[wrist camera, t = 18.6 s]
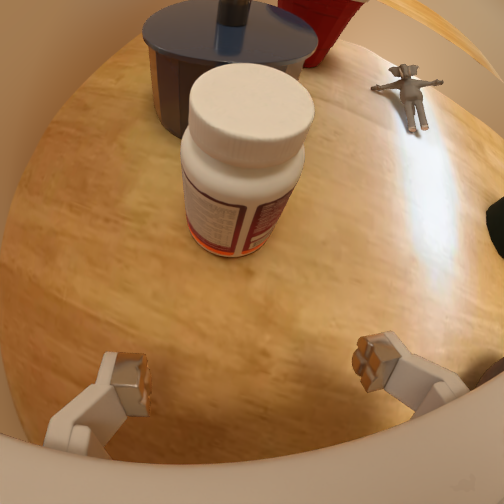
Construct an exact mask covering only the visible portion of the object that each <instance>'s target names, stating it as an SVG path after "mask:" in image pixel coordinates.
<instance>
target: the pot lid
mask: <svg viewBox="0 0 504 504" xmlns="http://www.w3.org/2000/svg"><path fill="white" fill-rule="evenodd" d="M142 30H143V31H142V33H143V39H144V41H145V43H146V44H147V45H148V46H149V47H150V48H151V49H153V50H154V51H156V52H158V53H159V54H162V55H164V56H167V57H169V58H172V59H176V60H179V61H184V62H188V63H193V64H199V65H205V66H214V67H219V66H223V65H227V64H234V63H252V64H259V65H264V66H268V67H281V66H287V65H291V64H295V63H298V62H301V61H304V60H305V59H307V58H309V57H310V56H311V55H312V54H313V53H314V52H315V50H316V48H317V46H318V37H317V35H316V33H315V31H314V30H313V28H312V27H311V26H310V25H309V24H308V23H306V22H305V21H304V20H302V19H301V18H299V17H298V16H296V15H294V14H292V13H290V12H288V11H286V10H284V9H281V8H278V7H276V6H272V5H269V4H266V3H262V2H257V1H253V0H189V1H184V2H180V3H176V4H174V5H171V6H168V7H166V8H163V9H161V10H159V11H158V12H156V13H154V14H153V15H152V16H150V18H148V19H147V20H146V22H145V23H144V26H143V29H142Z"/></svg>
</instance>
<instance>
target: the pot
mask: <svg viewBox="0 0 504 504" xmlns="http://www.w3.org/2000/svg"><path fill="white" fill-rule="evenodd" d="M149 59H150V70H151V80H152V90H153V98H154V106H155V109H156V112H157V116H158V118H159V120H160V122H161V124H162V125H163V126H164V127H165V128H166V129H167V130H168V131H169V132H170V133H172V134H173V135H175V136H176V137H178V138H180V139H182V137H183V135H184V132H185V130H186V128H187V127H188V125H189V120H188V118H189V96H190V91H191V88H192V86H193V84H194V83H195V81H196V80H197V79H198V78H199V77H200V76H201V75H203V74H204V73H206V72H207V71H209V70H211V69H213V68H216V67H214V66H205V65H199V64H193V63H188V62H184V61H179V60H176V59H172V58H169V57H167V56H164V55H162V54H159V53H158V52H156V51H154V50H153V49H151V48H150V47H149ZM305 60H306V59H305ZM305 60H304V61H301V62H298V63H295V64H291V65H287V66H281V67H272V68H275V69H277V70H280V71H282V72H284V73H286V74H288V75H290V76H291V77H293V78H294V79H296V80H297V81H298V80H299V77H300V74H301V71H302V69H303V66H304V63H305Z"/></svg>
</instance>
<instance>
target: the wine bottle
mask: <svg viewBox="0 0 504 504" xmlns="http://www.w3.org/2000/svg"><path fill="white" fill-rule="evenodd" d="M486 219H487V227H488V230H489V233H490V237H491V240H492V242H493V244H494V246H495V247H496V249H497V251H498V253H499V255H500V256H501V257H502V258H504V197H502V198H501V199H499V200H498V201H497V202H495V203H494V204H492V205H491V206H490V207H489V209H488V210H487V211H486Z"/></svg>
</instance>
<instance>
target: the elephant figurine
mask: <svg viewBox="0 0 504 504" xmlns="http://www.w3.org/2000/svg"><path fill="white" fill-rule="evenodd" d="M417 68H418V66H416V65H411V66H407V65H406V64H401V65H400V66H399V67H391V68H389V71H391V72H392V74H393V75H394V76H395V77H401V80H398V81H396V82H393V83H390V84H387V85H382V86H379V85H377V84H376V86H374V87H371V89H372V90H378V91H380V90H384V89H399V90H400V100H401V102H402V103H403V104H404V108H405V112H406V116H407V121H408V130H409V131H410V132H415V131H416V126H415V121H414V115H415V107H414V105H415V106H416V109H417V113H418V117H419V121H420V126H421V130H428V129H429V127H428V123H427V120H426V117H425V112H424V107H423V103H422V101H423V95H422V92H421V91H420V88H421V87H425V86H431V85H433V86H437V85H442V84H443V80H442V81H439V80H438V79H437V80H435V81H432V82H428V81H422V80H415V79H411V76H414V75H417Z"/></svg>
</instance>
